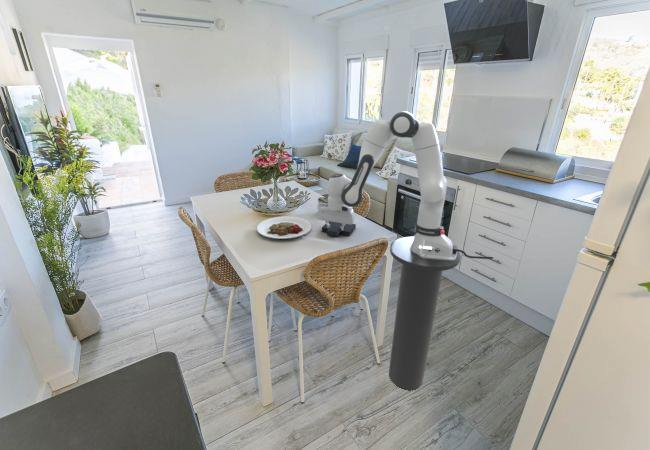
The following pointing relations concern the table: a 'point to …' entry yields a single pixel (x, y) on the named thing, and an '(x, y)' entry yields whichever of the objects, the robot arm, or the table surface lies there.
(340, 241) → the table surface
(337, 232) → the grey pad
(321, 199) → the food container
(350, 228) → the black pad
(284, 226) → the plated food
